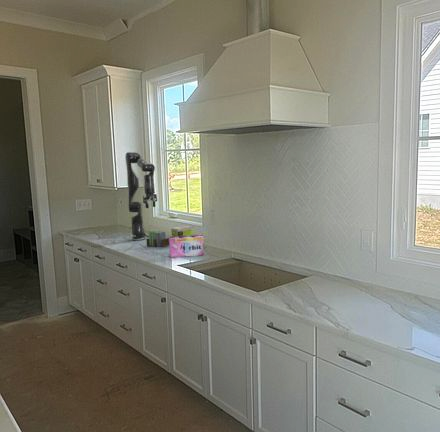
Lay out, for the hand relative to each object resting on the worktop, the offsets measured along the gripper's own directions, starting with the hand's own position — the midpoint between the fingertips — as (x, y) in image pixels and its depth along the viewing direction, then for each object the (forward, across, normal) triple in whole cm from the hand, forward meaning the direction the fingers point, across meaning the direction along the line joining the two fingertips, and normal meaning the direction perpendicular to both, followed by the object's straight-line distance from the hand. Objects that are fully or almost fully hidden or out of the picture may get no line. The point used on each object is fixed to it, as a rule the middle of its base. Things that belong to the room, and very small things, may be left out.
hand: (150, 207), depth 333 cm
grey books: (+29, -9, -15) cm, 34 cm away
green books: (+29, -9, -10) cm, 32 cm away
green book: (+29, -9, -7) cm, 31 cm away
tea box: (+30, +1, -29) cm, 42 cm away
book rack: (+30, -9, -12) cm, 34 cm away
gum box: (+30, -28, -51) cm, 66 cm away
